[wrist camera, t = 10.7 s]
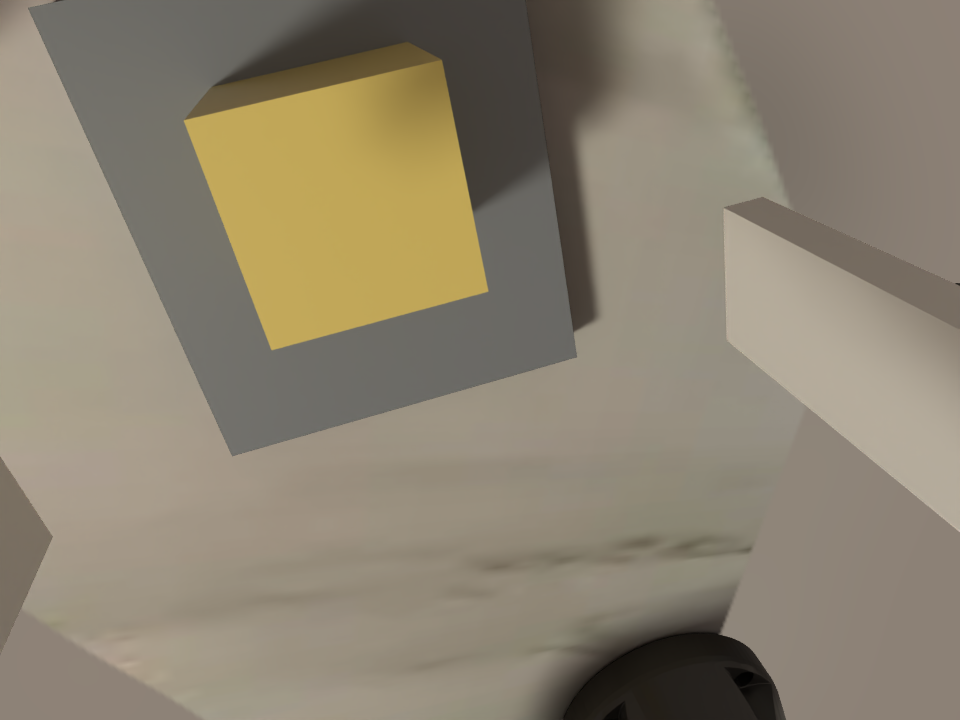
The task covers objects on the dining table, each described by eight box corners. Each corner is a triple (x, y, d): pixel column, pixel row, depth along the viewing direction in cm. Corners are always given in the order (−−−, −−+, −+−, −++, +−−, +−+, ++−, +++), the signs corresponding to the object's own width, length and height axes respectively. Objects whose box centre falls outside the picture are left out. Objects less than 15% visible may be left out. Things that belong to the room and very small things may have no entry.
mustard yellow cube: (448, 227, 29) (488, 291, 23) (276, 271, 28) (271, 350, 22) (407, 41, 26) (441, 60, 20) (211, 87, 25) (183, 120, 19)
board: (562, 338, 35) (612, 404, 30) (235, 431, 33) (223, 519, 28) (497, -92, 26) (550, -112, 21) (47, 6, 24) (-25, 12, 19)
